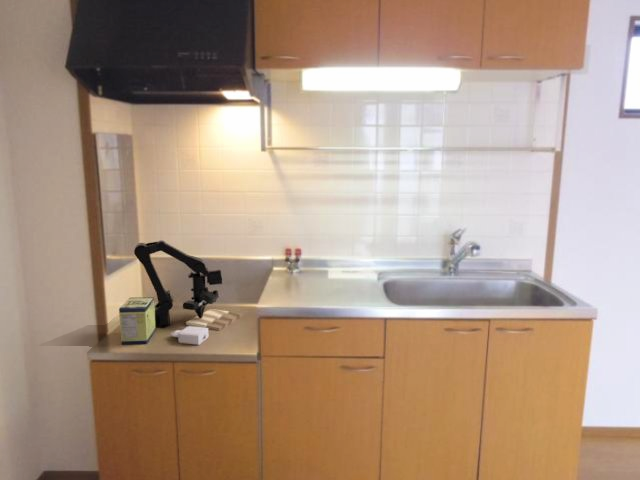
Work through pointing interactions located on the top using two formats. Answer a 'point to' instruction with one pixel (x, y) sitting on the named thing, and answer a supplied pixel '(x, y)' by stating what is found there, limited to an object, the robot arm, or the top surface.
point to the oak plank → (206, 318)
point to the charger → (191, 335)
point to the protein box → (137, 320)
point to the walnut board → (224, 321)
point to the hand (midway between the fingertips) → (200, 318)
